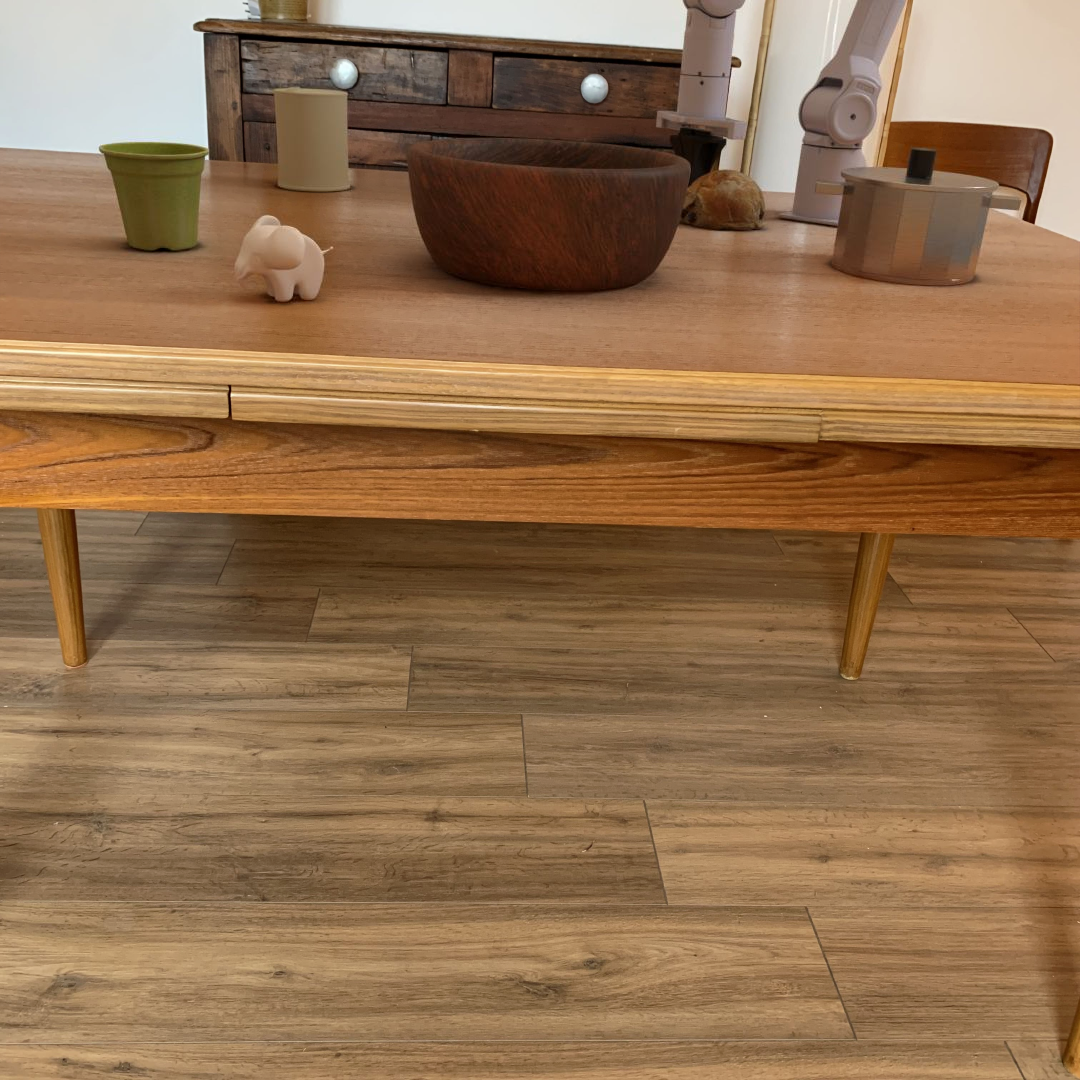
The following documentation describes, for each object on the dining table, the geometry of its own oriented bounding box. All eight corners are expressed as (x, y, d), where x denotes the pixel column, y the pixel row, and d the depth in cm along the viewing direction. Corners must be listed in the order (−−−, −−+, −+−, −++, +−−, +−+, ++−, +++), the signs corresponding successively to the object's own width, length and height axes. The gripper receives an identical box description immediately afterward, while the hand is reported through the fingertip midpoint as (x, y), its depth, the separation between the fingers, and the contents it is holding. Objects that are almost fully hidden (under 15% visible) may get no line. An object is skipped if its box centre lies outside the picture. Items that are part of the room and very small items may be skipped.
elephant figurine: (222, 292, 86) (217, 214, 84) (320, 285, 90) (317, 211, 87) (246, 311, 81) (241, 229, 78) (349, 304, 85) (347, 225, 82)
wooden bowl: (640, 246, 114) (649, 142, 109) (715, 302, 92) (731, 174, 87) (399, 242, 109) (398, 133, 105) (417, 299, 87) (417, 164, 83)
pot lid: (841, 174, 114) (847, 137, 112) (989, 186, 111) (997, 148, 109) (837, 190, 101) (843, 149, 100) (1003, 204, 98) (1013, 162, 96)
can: (264, 183, 142) (258, 83, 137) (325, 180, 147) (322, 84, 142) (302, 193, 136) (298, 89, 131) (364, 189, 141) (362, 89, 136)
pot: (808, 250, 117) (821, 167, 114) (994, 268, 113) (1014, 182, 109) (800, 273, 105) (814, 181, 102) (1008, 294, 101) (1030, 199, 97)
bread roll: (742, 264, 127) (781, 202, 123) (666, 218, 127) (703, 155, 123) (744, 249, 136) (780, 191, 132) (673, 206, 135) (708, 147, 132)
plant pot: (237, 244, 104) (230, 148, 100) (167, 260, 96) (158, 156, 92) (160, 233, 107) (151, 139, 104) (87, 246, 99) (74, 146, 96)
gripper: (640, 71, 131) (630, 188, 137) (718, 79, 120) (704, 206, 126) (686, 72, 135) (675, 187, 141) (766, 80, 124) (750, 204, 130)
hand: (692, 196), depth 134 cm, fingers closed
